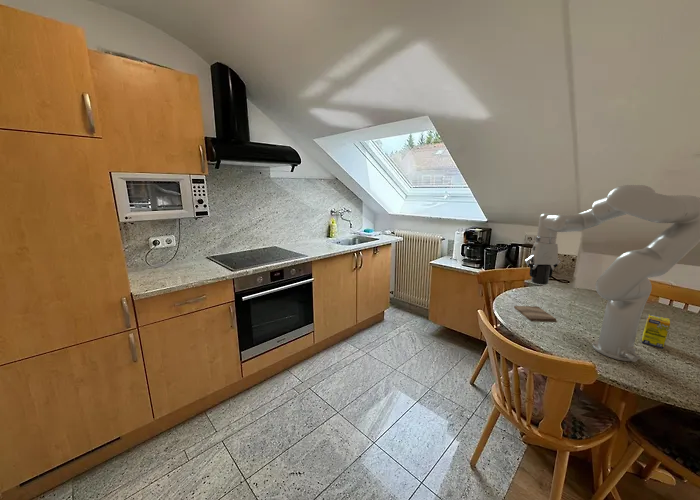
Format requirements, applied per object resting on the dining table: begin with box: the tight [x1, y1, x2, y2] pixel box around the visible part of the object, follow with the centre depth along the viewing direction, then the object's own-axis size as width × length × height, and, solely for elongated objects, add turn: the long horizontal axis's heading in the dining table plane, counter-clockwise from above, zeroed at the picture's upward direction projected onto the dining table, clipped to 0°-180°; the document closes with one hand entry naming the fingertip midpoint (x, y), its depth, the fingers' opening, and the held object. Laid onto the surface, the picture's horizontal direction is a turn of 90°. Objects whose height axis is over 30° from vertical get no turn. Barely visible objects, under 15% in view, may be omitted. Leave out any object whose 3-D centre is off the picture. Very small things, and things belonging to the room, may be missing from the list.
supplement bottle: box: [530, 265, 550, 286], centre depth 134 cm, size 7×7×12 cm
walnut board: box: [513, 305, 557, 322], centre depth 139 cm, size 14×12×1 cm
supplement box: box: [641, 313, 671, 350], centre depth 112 cm, size 6×6×11 cm
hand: (540, 276), depth 134 cm, fingers closed on supplement bottle, 6 cm apart
